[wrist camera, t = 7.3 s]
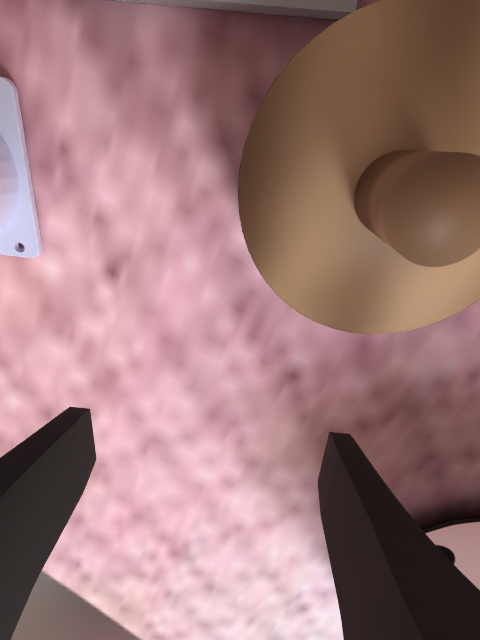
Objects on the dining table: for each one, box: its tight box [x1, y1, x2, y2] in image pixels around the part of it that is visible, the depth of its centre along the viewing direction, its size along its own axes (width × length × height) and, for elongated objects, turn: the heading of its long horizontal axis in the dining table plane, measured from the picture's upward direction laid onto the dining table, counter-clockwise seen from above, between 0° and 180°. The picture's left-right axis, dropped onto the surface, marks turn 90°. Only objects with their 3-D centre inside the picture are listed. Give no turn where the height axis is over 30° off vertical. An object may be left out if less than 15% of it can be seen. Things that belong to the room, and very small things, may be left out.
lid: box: [238, 0, 480, 334], centre depth 12 cm, size 12×12×5 cm
